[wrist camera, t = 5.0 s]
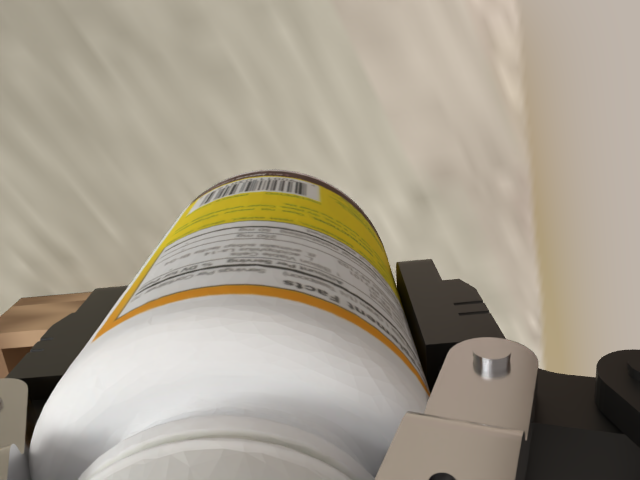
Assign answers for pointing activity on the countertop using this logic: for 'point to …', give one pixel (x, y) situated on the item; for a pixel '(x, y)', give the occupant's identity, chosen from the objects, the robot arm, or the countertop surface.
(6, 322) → the walnut crate
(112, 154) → the countertop surface
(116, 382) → the supplement bottle
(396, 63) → the countertop surface
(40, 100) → the countertop surface
